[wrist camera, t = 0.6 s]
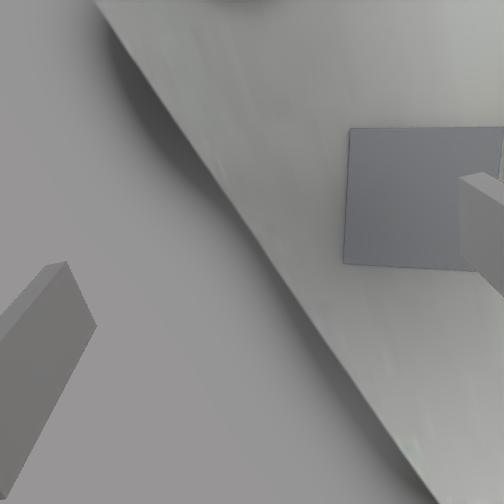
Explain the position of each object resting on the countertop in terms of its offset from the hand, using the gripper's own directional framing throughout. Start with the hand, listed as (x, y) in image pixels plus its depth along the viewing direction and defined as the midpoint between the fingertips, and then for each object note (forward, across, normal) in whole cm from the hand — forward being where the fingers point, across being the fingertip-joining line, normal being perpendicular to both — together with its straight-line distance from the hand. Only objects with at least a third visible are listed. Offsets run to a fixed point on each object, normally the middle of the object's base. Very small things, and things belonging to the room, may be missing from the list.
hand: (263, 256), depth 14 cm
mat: (+23, +13, -9) cm, 28 cm away
